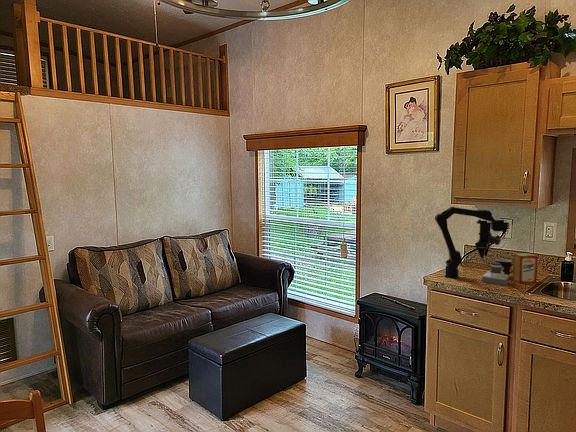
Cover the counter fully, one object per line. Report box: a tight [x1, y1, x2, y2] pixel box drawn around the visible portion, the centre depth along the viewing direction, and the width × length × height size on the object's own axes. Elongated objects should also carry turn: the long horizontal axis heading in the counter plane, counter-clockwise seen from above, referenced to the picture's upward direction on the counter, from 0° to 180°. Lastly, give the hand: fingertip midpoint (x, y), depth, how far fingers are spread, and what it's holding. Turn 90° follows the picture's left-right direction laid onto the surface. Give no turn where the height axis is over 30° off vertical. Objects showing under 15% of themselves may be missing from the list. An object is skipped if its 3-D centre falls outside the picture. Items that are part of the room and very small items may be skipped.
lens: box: [490, 261, 501, 273], centre depth 234 cm, size 5×5×7 cm
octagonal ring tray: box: [481, 270, 510, 286], centre depth 234 cm, size 12×9×6 cm
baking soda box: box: [512, 253, 538, 284], centre depth 234 cm, size 10×6×16 cm
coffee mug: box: [494, 258, 514, 276], centre depth 245 cm, size 12×9×10 cm
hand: (484, 257), depth 244 cm, fingers open, 9 cm apart
